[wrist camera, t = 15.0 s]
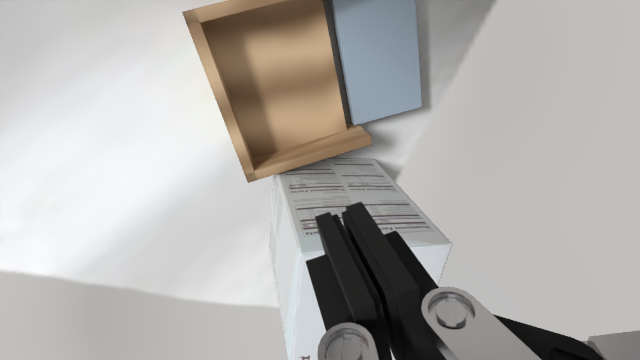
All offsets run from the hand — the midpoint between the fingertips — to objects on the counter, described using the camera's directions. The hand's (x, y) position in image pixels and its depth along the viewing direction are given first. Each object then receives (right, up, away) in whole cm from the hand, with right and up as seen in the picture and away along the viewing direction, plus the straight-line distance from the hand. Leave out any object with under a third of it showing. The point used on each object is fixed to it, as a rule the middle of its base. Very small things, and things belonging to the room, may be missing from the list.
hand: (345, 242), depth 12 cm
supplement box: (-1, -1, +32) cm, 32 cm away
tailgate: (+1, +14, +23) cm, 27 cm away
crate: (-5, +13, +24) cm, 27 cm away
